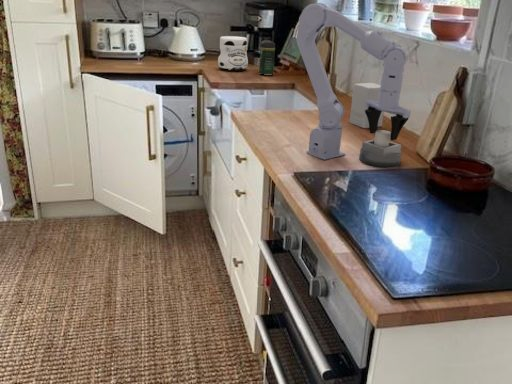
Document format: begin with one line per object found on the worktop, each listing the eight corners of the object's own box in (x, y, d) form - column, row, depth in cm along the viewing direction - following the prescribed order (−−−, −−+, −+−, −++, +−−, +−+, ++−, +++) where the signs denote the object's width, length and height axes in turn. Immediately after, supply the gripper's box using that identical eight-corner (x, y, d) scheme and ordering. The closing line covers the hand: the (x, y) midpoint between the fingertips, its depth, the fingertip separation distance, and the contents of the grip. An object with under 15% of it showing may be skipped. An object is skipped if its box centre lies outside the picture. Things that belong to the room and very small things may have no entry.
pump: (382, 155, 144) (386, 135, 142) (370, 151, 147) (372, 131, 144) (393, 151, 148) (396, 131, 146) (380, 147, 151) (383, 128, 148)
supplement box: (382, 126, 185) (388, 86, 179) (364, 128, 181) (369, 88, 175) (366, 120, 192) (371, 82, 186) (348, 122, 188) (353, 83, 182)
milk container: (237, 73, 275) (238, 40, 268) (211, 69, 283) (212, 37, 276) (253, 69, 289) (254, 38, 282) (228, 66, 297) (229, 35, 290)
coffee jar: (274, 76, 272) (276, 41, 264) (260, 76, 271) (262, 41, 263) (271, 73, 281) (273, 39, 273) (257, 73, 279) (259, 39, 272)
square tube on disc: (382, 170, 141) (385, 152, 138) (351, 158, 149) (353, 141, 147) (408, 163, 148) (411, 145, 145) (376, 152, 156) (378, 135, 154)
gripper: (420, 94, 137) (411, 140, 142) (378, 84, 147) (372, 128, 153) (404, 96, 133) (396, 144, 138) (363, 86, 143) (357, 131, 149)
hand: (382, 136), depth 145 cm, fingers open, 7 cm apart
